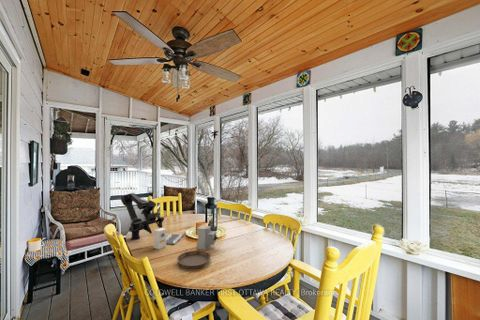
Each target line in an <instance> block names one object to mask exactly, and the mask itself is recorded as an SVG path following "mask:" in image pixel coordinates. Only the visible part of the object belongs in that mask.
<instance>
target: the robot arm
mask: <svg viewBox="0 0 480 320" xmlns="http://www.w3.org/2000/svg"><path fill="white" fill-rule="evenodd" d="M120 201H121V203H122V204H123V206H125V207H126V209H127V212H128V216H129V219H130V220H131V222H130V227H129V228H128V231H129V232H130V233H131V237H130V240H140V238H141V236H140V231H142V230H144V231H146V232H148V233H149V234H152V233H153V232H152V230H151V227H150V225H152V224H156V226H157V227H158V228H163V222H164V221H165V218H164V216H161V213H160V211H156V212H152V211H153V210H154V209H155V208H156V206H157V203H156V202H154V201H153V200H144V199H142V198H140V197H139V196H138V195H137V194H136V193H135V192H130V193H128V194H125V195H123V196H122V197H121V198H120ZM133 203H135V204H136V206H137V207H136V208H138V209H139V210H140V211H141V212H140V213H141V215H143V217H144V220H142V218H141V217H139V218H138V215H137V213H136V210H135V207H134V205H133ZM159 216H160V217H159Z"/></svg>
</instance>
